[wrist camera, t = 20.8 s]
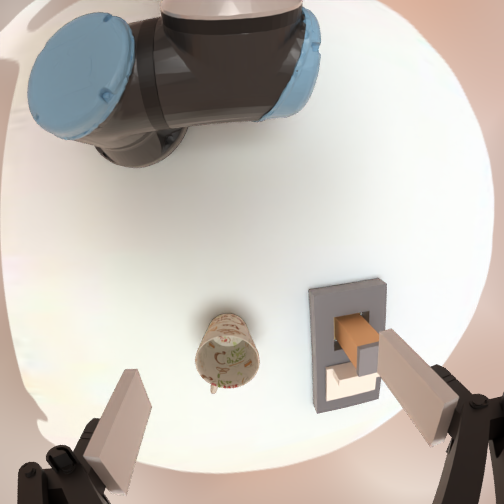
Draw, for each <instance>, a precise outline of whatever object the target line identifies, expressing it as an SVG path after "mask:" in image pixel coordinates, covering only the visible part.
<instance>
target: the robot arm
mask: <svg viewBox="0 0 504 504" xmlns="http://www.w3.org/2000/svg"><path fill="white" fill-rule="evenodd" d="M302 2H303V0H162V1H161V3H160V9H161V15H162V17H158V18H153V19H148V20H143V21H138V22H134V23H129V24H127V22H126V21H125V20H123V19H122V18H120V17H117V16H112V15H111V14H109V13H103V12H98V13H90V14H86V15H83V16H80V17H78V18H76V19H74V20H72V21H70V22H69V23H67V24H66V25H64V26H63V27H62V28H60V29H59V30H58V31H57V32H56V33H55V34H54V35H53V36H52V37H51V38H50V39H49V40H48V42H47V43H46V46H45V47H44V49H43V50H42V51H41V53H40V54H39V55H38V57H37V59H36V61H35V63H34V65H33V68H32V70H31V74H30V78H29V82H28V92H27V94H28V104H29V108H30V112H31V114H32V116H33V118H34V120H35V121H36V122H37V124H38V125H40V126H41V127H42V128H43V129H44V130H46V131H48V132H50V133H52V134H54V135H55V136H56V137H59V138H61V139H65V140H74V141H78V142H82V143H86V144H90V145H94V146H95V147H96V149H97V150H98V152H99V153H100V154H101V155H102V156H103V157H104V158H106V159H107V160H109V161H110V162H112V163H114V164H117V165H120V166H125V167H132V168H139V167H146V166H150V165H153V164H155V163H157V162H159V161H161V160H163V159H164V158H166V157H167V156H169V155H170V154H171V153H172V152H173V151H174V150H175V149H176V148H177V147H178V145H179V144H180V142H181V141H182V139H183V138H184V136H185V133H186V131H187V128H188V126H197V125H206V124H217V123H228V122H242V121H252V122H259V121H263V120H266V119H273V118H285V117H289V116H292V115H294V114H296V113H298V112H299V111H300V110H301V109H302V108H303V107H304V106H305V105H306V103H307V102H308V100H309V98H310V96H311V94H312V92H313V89H314V86H315V83H316V80H317V76H318V71H319V66H320V58H321V54H320V53H319V51H318V49H319V46H320V43H321V35H320V28H319V24H318V21H317V19H316V17H315V15H314V14H313V13H312V12H311V11H310V10H308V9H305V8H304V7H302ZM377 373H378V374H379V376H380V377H381V378H382V380H383V381H384V382H385V384H386V385H387V387H388V388H389V389H390V391H391V392H392V394H393V395H394V396H395V398H396V399H397V400H398V402H399V403H400V405H401V406H402V408H403V409H404V410H405V412H406V413H407V415H408V416H409V417H410V418H411V420H412V421H413V423H414V424H415V426H416V427H417V429H418V430H419V432H420V433H421V435H422V436H423V437H424V439H425V440H426V441H427V443H428V445H429V446H430V447H433V446H435V445H437V444H440V443H442V442H444V441H445V438H446V436H447V433H449V435H450V436H451V437H452V438H451V441H450V443H449V446H448V448H447V451H446V452H447V457H446V461H445V465H444V468H443V472H442V475H441V479H440V482H439V486H438V488H437V492H436V495H435V498H434V501H433V503H432V504H478V502H479V497H480V493H481V487H482V482H483V476H484V470H485V464H486V457H487V448H488V443H489V449H490V454H491V461H492V468H493V475H494V484H495V494H496V504H504V393H503V396H501V397H497V398H493V399H488V398H487V397H486V396H484V395H481V394H471V393H470V392H469V391H468V390H467V389H466V388H465V387H464V386H463V385H462V384H461V383H460V382H459V381H458V380H456V378H455V377H454V376H453V375H451V373H450V372H449V371H448V370H447V369H446V368H444V367H442V366H440V365H437V364H436V365H434V366H431V367H430V366H429V365H428V364H427V363H426V362H425V361H424V360H423V359H422V358H421V357H420V356H419V355H418V354H417V353H416V352H415V351H414V350H413V349H412V348H411V347H410V346H409V345H408V344H407V343H406V342H405V341H404V340H403V339H402V338H401V337H400V336H399V335H398V334H397V333H396V332H395V331H394V330H392V329H388V330H384V331H380V332H379V351H378V366H377ZM151 409H152V406H151V403H150V401H149V398H148V396H147V393H146V391H145V388H144V385H143V383H142V380H141V377H140V375H139V372H138V369H125V370H124V372H123V374H122V376H121V378H120V380H119V382H118V384H117V386H116V388H115V390H114V392H113V394H112V396H111V398H110V400H109V402H108V404H107V406H106V408H105V410H104V412H103V414H102V416H101V418H100V419H99V418H93V419H92V420H91V421H90V422H89V423H88V424H87V425H86V427H85V429H84V431H83V433H82V435H81V437H80V439H79V441H78V443H77V445H76V447H75V449H74V451H72V450H71V449H70V447H68V446H66V445H59V446H55V447H53V448H52V449H50V450H49V451H48V453H47V455H46V461H47V462H48V463H49V465H50V466H51V467H52V468H51V469H42V468H41V467H40V465H39V464H38V463H36V462H28V463H25V464H24V465H23V466H21V468H20V469H19V472H18V500H17V501H18V502H17V504H111V503H110V502H109V500H108V498H107V497H106V496H105V495H104V491H105V488H107V489H108V490H109V492H110V493H111V494H116V495H124V496H127V492H128V488H129V485H130V481H131V477H132V473H133V470H134V466H135V463H136V459H137V456H138V452H139V449H140V445H141V442H142V439H143V435H144V432H145V429H146V425H147V422H148V419H149V415H150V412H151Z"/></svg>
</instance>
